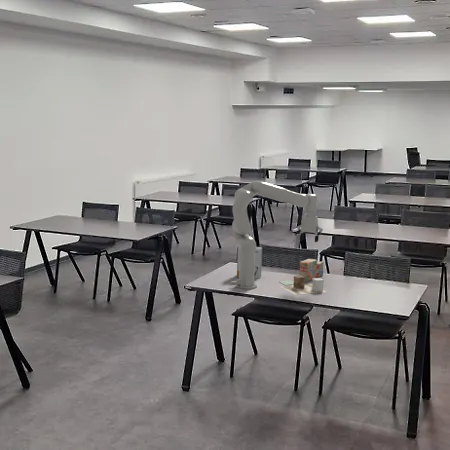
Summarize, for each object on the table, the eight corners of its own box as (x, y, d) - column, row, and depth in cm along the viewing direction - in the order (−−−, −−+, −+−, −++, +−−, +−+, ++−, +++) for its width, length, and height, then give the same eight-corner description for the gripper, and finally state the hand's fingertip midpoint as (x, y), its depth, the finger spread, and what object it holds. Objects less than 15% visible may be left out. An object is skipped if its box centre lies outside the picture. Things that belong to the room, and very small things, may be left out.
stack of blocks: (314, 274, 417) (315, 256, 415) (323, 275, 414) (324, 257, 412) (299, 280, 400) (299, 261, 398) (307, 281, 397) (308, 262, 395)
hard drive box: (236, 277, 404) (236, 247, 401) (238, 274, 411) (239, 245, 408) (259, 279, 401) (260, 249, 397) (261, 276, 408) (262, 246, 405)
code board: (294, 295, 363) (294, 294, 363) (280, 286, 382) (280, 286, 382) (327, 292, 371) (327, 292, 371) (311, 284, 389) (311, 283, 389)
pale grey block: (315, 291, 371) (316, 280, 370) (311, 289, 376) (312, 278, 374) (323, 291, 373) (323, 279, 372) (319, 289, 377) (319, 277, 376)
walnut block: (297, 288, 377) (297, 277, 376) (293, 286, 381) (293, 275, 380) (304, 288, 378) (304, 277, 377) (300, 286, 383) (301, 275, 382)
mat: (284, 285, 385) (284, 284, 385) (278, 282, 393) (278, 281, 393) (302, 284, 389) (302, 283, 389) (295, 280, 397) (295, 280, 397)
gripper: (295, 213, 385) (294, 240, 388) (320, 215, 376) (319, 243, 378) (300, 212, 391) (299, 238, 394) (325, 214, 382) (324, 241, 385)
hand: (309, 241), depth 386 cm, fingers open, 9 cm apart
